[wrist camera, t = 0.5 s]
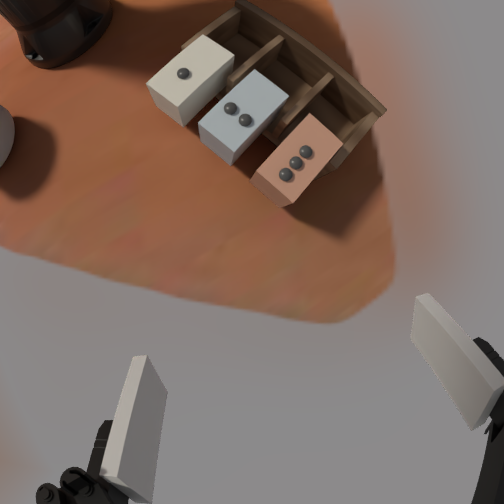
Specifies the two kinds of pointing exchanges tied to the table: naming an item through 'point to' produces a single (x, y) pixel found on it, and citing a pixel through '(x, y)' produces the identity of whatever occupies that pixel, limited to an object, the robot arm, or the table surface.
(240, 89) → the pale blue knobbed block
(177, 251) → the table surface
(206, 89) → the cream dotted block
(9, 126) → the teacup
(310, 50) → the wooden compartment box
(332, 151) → the tan rectangular block
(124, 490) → the robot arm
